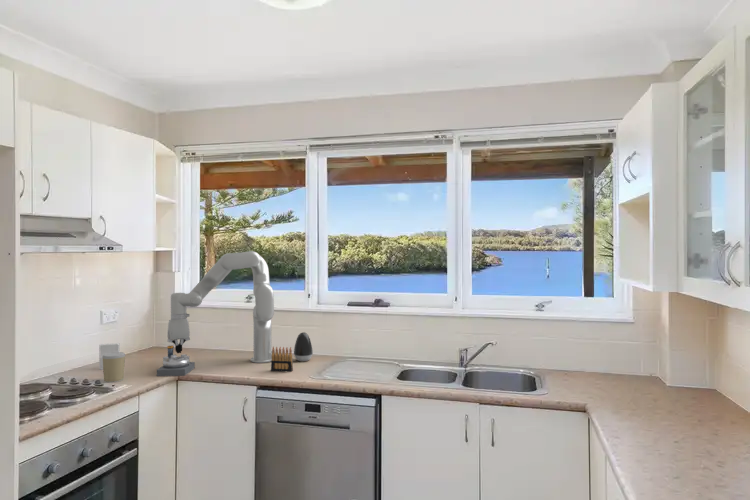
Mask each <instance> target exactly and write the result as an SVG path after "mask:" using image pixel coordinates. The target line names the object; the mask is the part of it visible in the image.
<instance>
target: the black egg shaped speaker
mask: <svg viewBox="0 0 750 500" xmlns="http://www.w3.org/2000/svg"><path fill="white" fill-rule="evenodd" d="M313 351H314V350H313V345H312V341H311V338H310V336H309V334H308V333H306V332H305V331H304V332H300V333H299V334H298V335H297V337H296V340H295V343H294V347H293V355H294V358H295V359H296V361H298V362H308V361H309V360H311V358H312V356H313Z"/></svg>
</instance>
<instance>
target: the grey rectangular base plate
mask: <svg viewBox="0 0 750 500" xmlns="http://www.w3.org/2000/svg"><path fill="white" fill-rule="evenodd" d="M195 366H196V365H195V361H189V365H188V366H185V367H180V368H165V367H163V365H162V366H160V367H159V368H157V369H156V377H179V376H180V377H181V376H183V377H184V376H186V375H188V374H189V373H190V372H191V371H192V370H194V369H195Z"/></svg>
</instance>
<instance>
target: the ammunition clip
mask: <svg viewBox="0 0 750 500" xmlns="http://www.w3.org/2000/svg"><path fill="white" fill-rule="evenodd" d="M271 351H272V361H271V362H270V363H271V365H270V371H271V372H285V371H287V372H289V373H291V372H293V371H294V368H293V354H292V353H293V350H292V347H291V346H290V347H289V349H288V347H286V348H285V347H284V346H283V347H282V348H281V346H279V349H278V346H276V347H275V346H272V347H271ZM278 354H279V355H278ZM287 372H286V373H287Z"/></svg>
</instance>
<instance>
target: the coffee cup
mask: <svg viewBox="0 0 750 500" xmlns="http://www.w3.org/2000/svg"><path fill="white" fill-rule="evenodd" d="M102 358H103V370H102V371H103V380H104V383H117V382H121V381H123V380H124V374H125V362H126V361H125V359H126V353H125V352H122V351H119V352H113V353H107V354H104V355H103V356H102Z"/></svg>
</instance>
